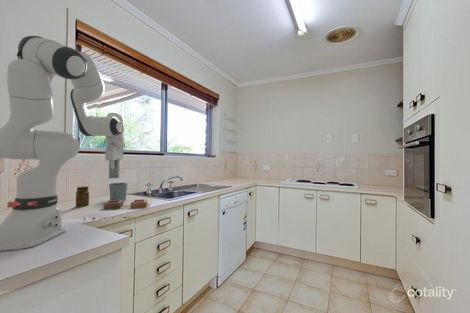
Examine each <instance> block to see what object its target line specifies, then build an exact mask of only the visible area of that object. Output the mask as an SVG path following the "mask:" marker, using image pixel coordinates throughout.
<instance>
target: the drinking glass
mask: <svg viewBox="0 0 470 313" xmlns="http://www.w3.org/2000/svg"><path fill="white" fill-rule="evenodd" d="M108 186H109V187H108V188H109V200H123V202H124V201H126V200H127V191H128V183H127V182H113V183H109V184H108Z"/></svg>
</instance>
